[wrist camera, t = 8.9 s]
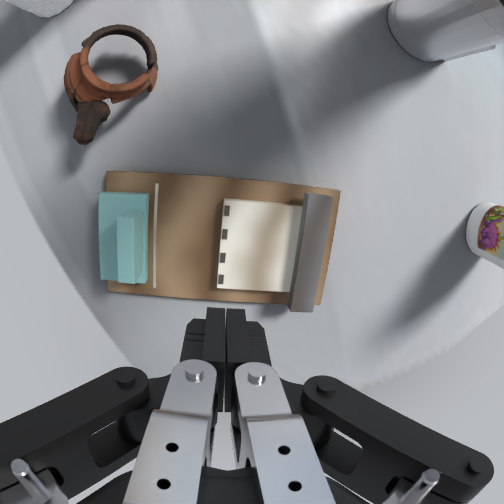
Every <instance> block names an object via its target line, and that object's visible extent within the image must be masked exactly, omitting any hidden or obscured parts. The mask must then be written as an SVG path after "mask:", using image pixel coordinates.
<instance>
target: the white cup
mask: <svg viewBox="0 0 504 504" xmlns="http://www.w3.org/2000/svg"><path fill="white" fill-rule="evenodd" d="M5 1H7V2H9V3H11V4H13V5H15V6H17V7H20V8H22V9H24V10H26V11H29V12H32V13H33V14H35V15H37V16H39V17H48V18H49V17H52V16H54V15H57V14H59V13H61V12H62V11H63V10H64V9H66V8H67V7H68V6H70V5H71V3H72V2H73V1H74V0H5Z"/></svg>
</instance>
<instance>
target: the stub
mask: <svg viewBox="0 0 504 504" xmlns="http://www.w3.org/2000/svg"><path fill="white" fill-rule="evenodd" d="M148 213H149V194H148V193H127V192H100V193H99V205H98V223H99V258H100V275H101V279H103V280H113V281H118V282H120V283H131V284H135V283H146V281H147V280H148Z"/></svg>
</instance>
